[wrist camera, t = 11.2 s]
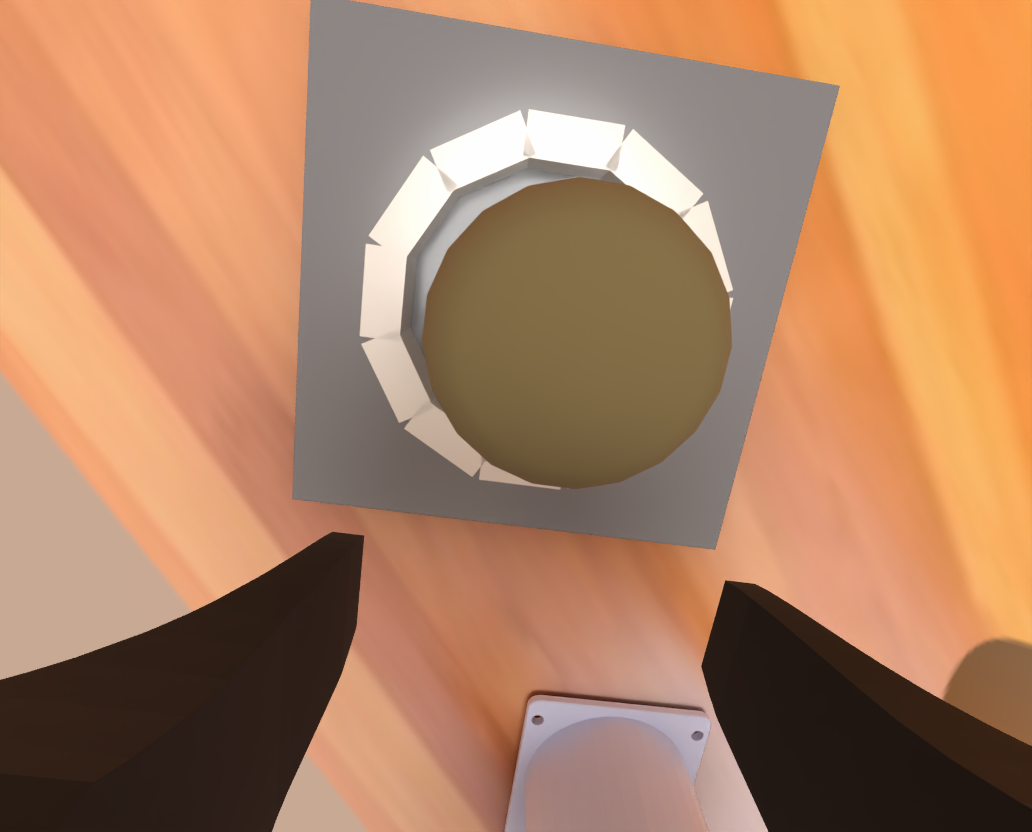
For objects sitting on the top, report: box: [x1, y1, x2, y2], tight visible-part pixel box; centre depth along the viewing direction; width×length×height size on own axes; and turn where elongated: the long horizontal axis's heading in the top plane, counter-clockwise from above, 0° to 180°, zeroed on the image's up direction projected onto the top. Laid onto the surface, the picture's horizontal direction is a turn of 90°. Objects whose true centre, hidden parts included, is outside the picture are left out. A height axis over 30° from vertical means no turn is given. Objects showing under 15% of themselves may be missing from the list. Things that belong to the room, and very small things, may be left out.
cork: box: [422, 177, 732, 489], centre depth 13 cm, size 6×6×11 cm
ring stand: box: [292, 0, 840, 550], centre depth 18 cm, size 16×16×3 cm
